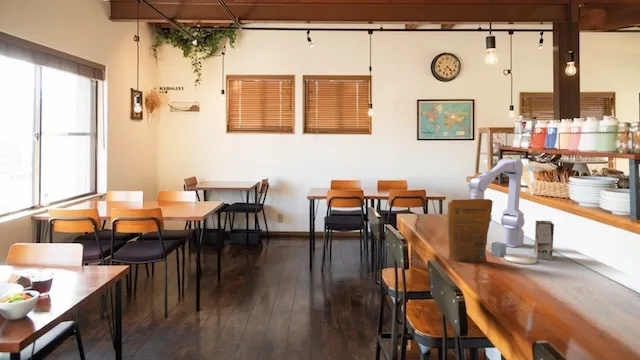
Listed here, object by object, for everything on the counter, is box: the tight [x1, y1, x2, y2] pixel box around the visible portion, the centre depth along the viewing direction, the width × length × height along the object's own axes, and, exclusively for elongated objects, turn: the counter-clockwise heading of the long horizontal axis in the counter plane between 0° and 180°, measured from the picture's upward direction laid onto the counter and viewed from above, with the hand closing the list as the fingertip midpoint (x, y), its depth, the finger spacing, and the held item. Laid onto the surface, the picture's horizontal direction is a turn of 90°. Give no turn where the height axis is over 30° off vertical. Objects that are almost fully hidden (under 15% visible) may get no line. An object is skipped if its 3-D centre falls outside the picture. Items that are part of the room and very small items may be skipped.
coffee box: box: [533, 220, 555, 261], centre depth 192 cm, size 9×6×16 cm
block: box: [490, 241, 507, 257], centre depth 196 cm, size 4×4×6 cm
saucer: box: [503, 253, 537, 265], centre depth 187 cm, size 13×13×1 cm
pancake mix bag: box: [446, 198, 494, 263], centre depth 185 cm, size 7×19×28 cm, turn 81°
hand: (476, 232), depth 199 cm, fingers open, 7 cm apart
